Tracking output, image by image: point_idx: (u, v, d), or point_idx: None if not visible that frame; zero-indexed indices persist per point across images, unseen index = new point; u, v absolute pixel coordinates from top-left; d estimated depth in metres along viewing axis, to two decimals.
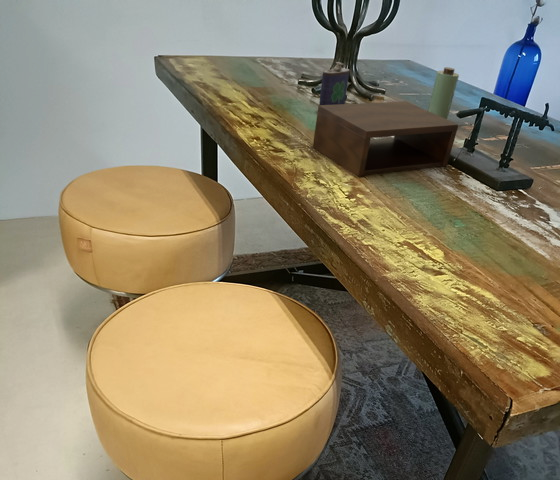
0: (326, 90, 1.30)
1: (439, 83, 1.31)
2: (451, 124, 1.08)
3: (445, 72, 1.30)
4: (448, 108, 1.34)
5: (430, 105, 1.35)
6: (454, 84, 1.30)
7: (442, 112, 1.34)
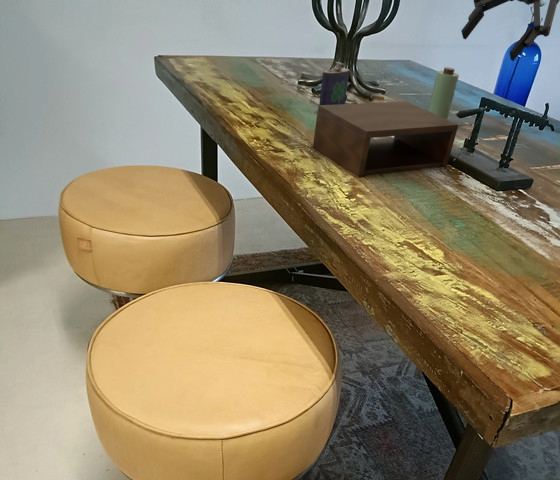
0: (326, 90, 1.30)
1: (439, 83, 1.31)
2: (451, 124, 1.08)
3: (445, 72, 1.30)
4: (448, 108, 1.34)
5: (430, 105, 1.35)
6: (454, 84, 1.30)
7: (442, 112, 1.34)
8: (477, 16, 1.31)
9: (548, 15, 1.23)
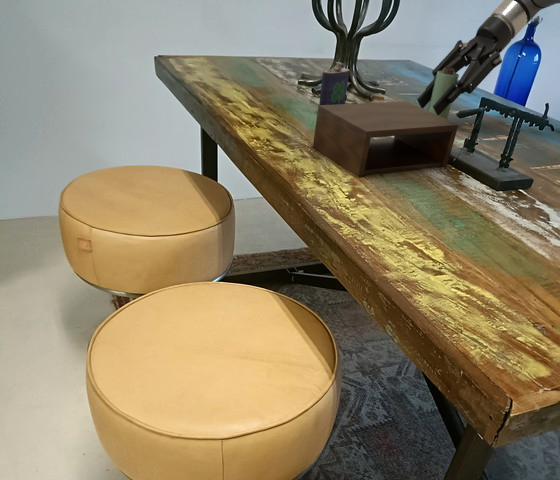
0: (326, 90, 1.30)
1: (439, 83, 1.31)
2: (451, 124, 1.08)
3: (445, 72, 1.30)
4: (448, 108, 1.34)
5: (430, 105, 1.35)
6: (454, 84, 1.30)
7: (442, 112, 1.34)
8: None
9: (474, 74, 1.28)
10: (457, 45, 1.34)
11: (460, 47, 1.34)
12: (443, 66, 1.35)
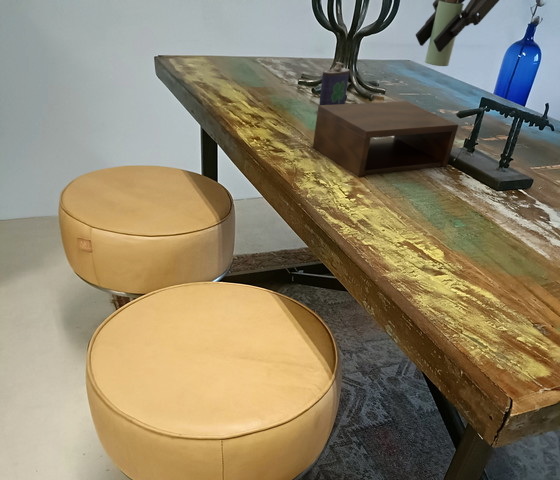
0: (326, 90, 1.30)
1: (441, 14, 1.13)
2: (451, 124, 1.08)
3: (448, 0, 1.13)
4: (451, 44, 1.17)
5: (430, 41, 1.17)
6: None
7: (444, 49, 1.16)
8: None
9: (482, 1, 1.10)
10: None
11: None
12: None
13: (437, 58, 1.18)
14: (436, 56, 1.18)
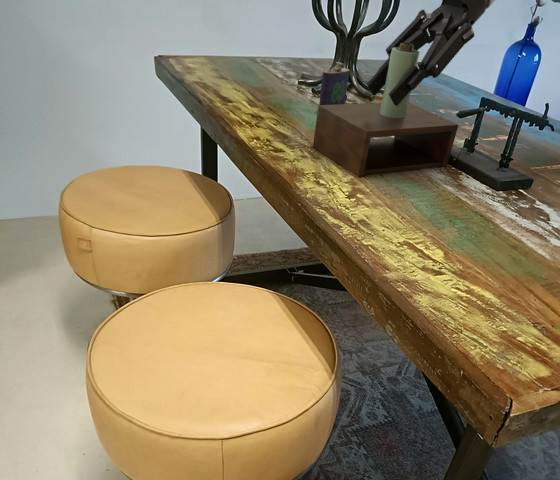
0: (326, 90, 1.30)
1: (394, 63, 1.02)
2: (451, 124, 1.08)
3: (401, 48, 1.01)
4: (407, 95, 1.05)
5: (384, 91, 1.06)
6: (413, 64, 1.02)
7: None
8: None
9: (440, 52, 0.99)
10: (418, 16, 1.06)
11: (422, 19, 1.06)
12: (400, 42, 1.07)
13: (392, 110, 1.06)
14: (390, 108, 1.06)
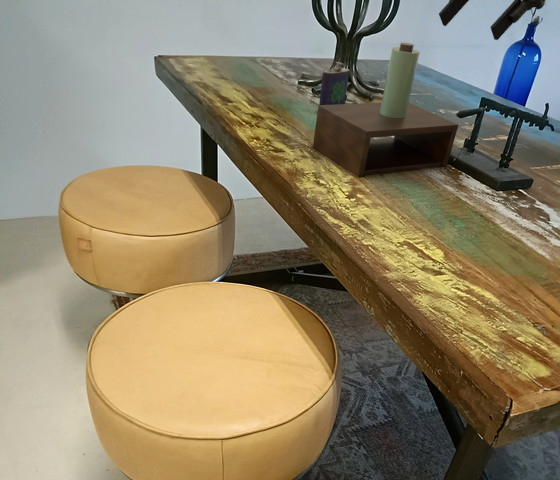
0: (326, 90, 1.30)
1: (394, 63, 1.02)
2: (451, 124, 1.08)
3: (401, 48, 1.01)
4: (407, 95, 1.05)
5: (384, 91, 1.06)
6: (413, 64, 1.02)
7: (399, 100, 1.05)
8: None
9: None
10: None
11: None
12: None
13: (392, 110, 1.06)
14: (390, 108, 1.06)
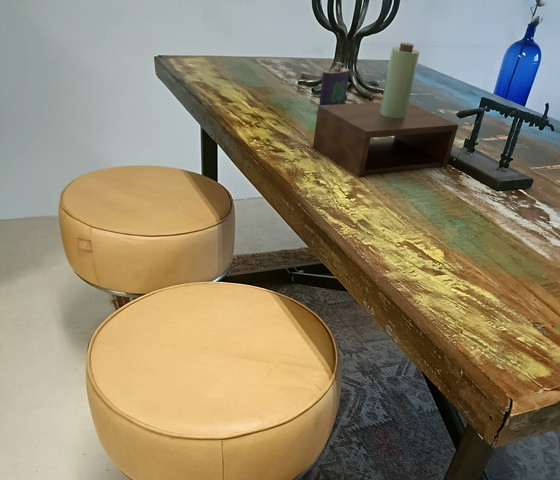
0: (326, 90, 1.30)
1: (394, 63, 1.02)
2: (451, 124, 1.08)
3: (401, 48, 1.01)
4: (407, 95, 1.05)
5: (384, 91, 1.06)
6: (413, 64, 1.02)
7: (399, 100, 1.05)
8: None
9: None
10: None
11: None
12: None
13: (392, 110, 1.06)
14: (390, 108, 1.06)
